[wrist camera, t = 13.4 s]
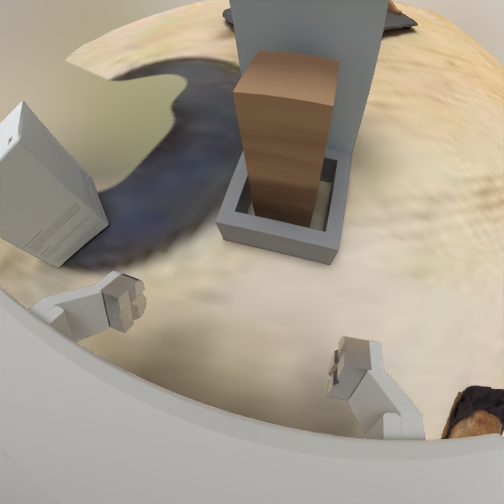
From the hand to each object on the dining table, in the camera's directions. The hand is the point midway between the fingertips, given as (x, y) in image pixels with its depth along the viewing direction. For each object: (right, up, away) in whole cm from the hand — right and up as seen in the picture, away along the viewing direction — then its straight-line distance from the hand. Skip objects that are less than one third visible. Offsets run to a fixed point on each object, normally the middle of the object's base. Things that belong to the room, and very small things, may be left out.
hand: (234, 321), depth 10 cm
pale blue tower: (+4, +9, +12) cm, 16 cm away
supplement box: (-17, +6, +13) cm, 22 cm away
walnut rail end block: (+3, +6, +11) cm, 13 cm away
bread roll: (+19, -14, +3) cm, 24 cm away
